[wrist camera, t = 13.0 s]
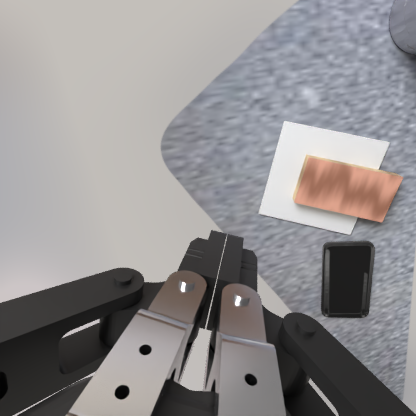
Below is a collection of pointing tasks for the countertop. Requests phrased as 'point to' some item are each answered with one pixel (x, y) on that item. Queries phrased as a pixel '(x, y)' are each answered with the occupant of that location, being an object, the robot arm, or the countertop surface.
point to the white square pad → (292, 164)
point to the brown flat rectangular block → (346, 188)
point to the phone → (347, 278)
